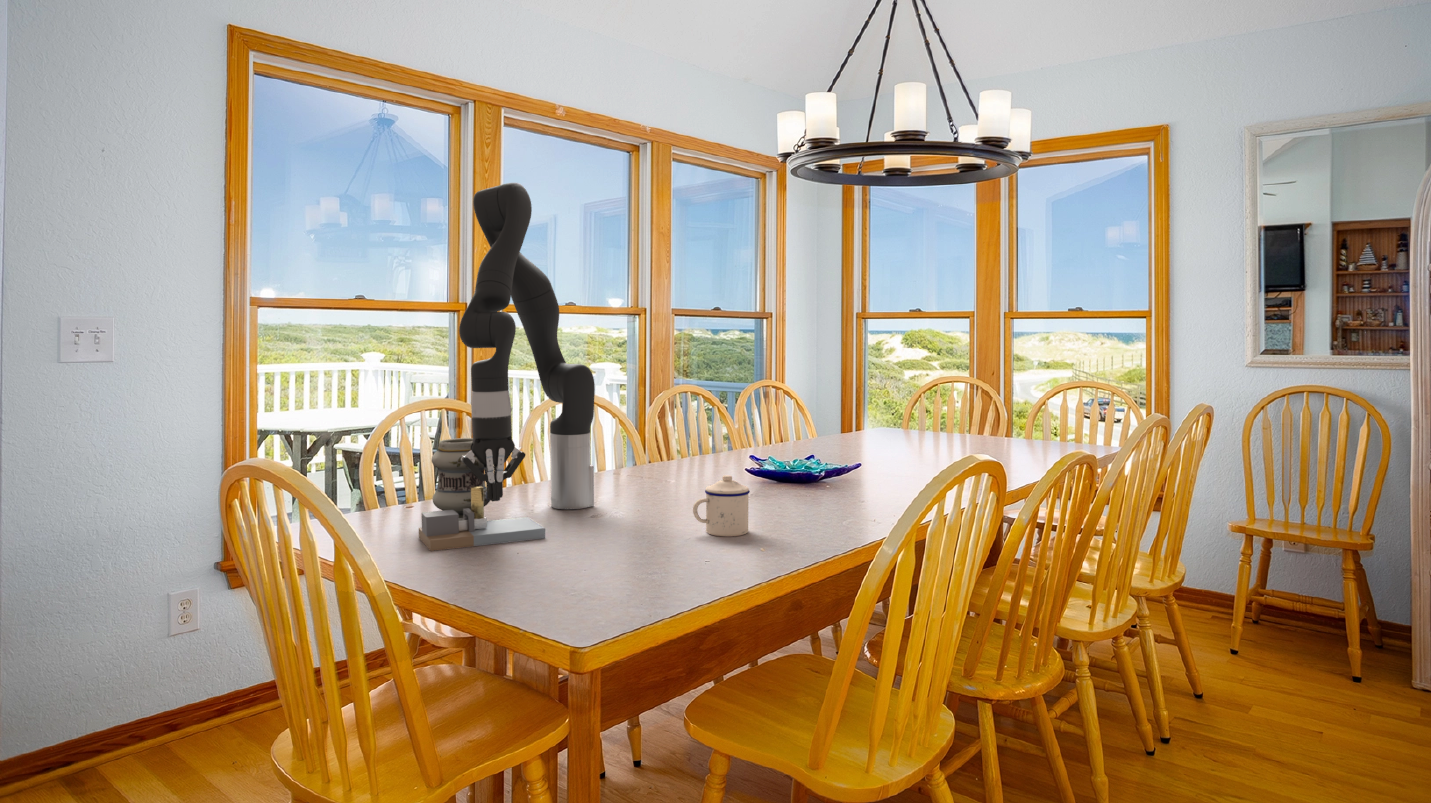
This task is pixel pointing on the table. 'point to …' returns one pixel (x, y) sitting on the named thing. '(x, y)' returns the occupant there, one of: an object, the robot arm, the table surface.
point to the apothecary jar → (455, 476)
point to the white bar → (475, 510)
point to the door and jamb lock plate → (474, 530)
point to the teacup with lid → (725, 508)
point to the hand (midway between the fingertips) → (495, 500)
